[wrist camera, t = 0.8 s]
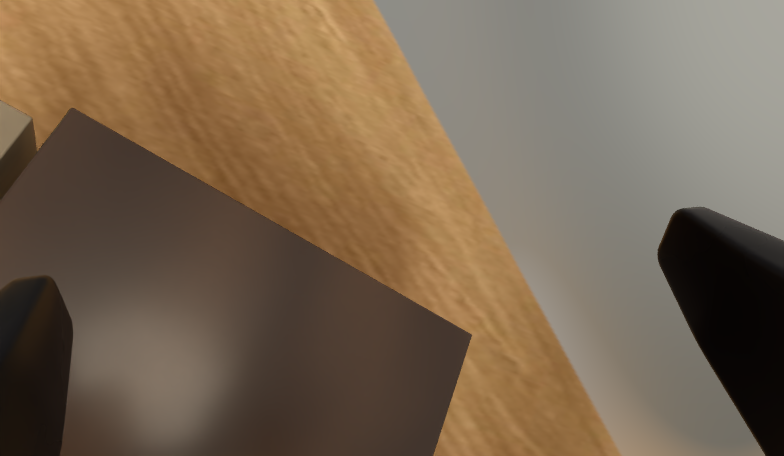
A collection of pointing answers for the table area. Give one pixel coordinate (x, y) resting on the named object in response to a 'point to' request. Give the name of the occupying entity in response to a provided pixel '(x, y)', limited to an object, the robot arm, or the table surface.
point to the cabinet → (215, 317)
